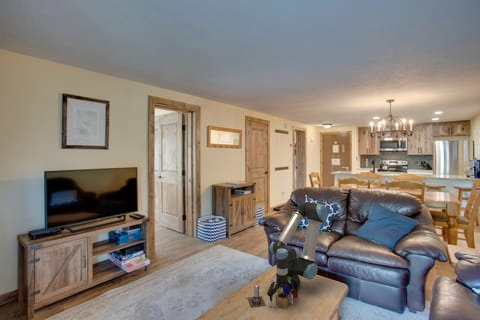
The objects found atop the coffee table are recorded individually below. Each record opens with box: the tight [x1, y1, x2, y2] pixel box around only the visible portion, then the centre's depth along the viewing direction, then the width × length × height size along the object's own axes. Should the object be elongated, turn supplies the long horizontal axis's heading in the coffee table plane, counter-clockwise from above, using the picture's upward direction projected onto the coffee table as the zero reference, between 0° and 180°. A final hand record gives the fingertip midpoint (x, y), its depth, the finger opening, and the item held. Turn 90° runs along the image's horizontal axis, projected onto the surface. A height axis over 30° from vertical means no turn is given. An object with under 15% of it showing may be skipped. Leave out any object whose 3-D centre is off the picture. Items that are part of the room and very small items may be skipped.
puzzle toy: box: [277, 277, 299, 300], centre depth 177 cm, size 10×10×10 cm
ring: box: [275, 292, 290, 309], centre depth 166 cm, size 8×8×6 cm
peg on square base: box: [247, 284, 267, 308], centre depth 168 cm, size 10×10×12 cm
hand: (281, 304), depth 165 cm, fingers open, 13 cm apart
